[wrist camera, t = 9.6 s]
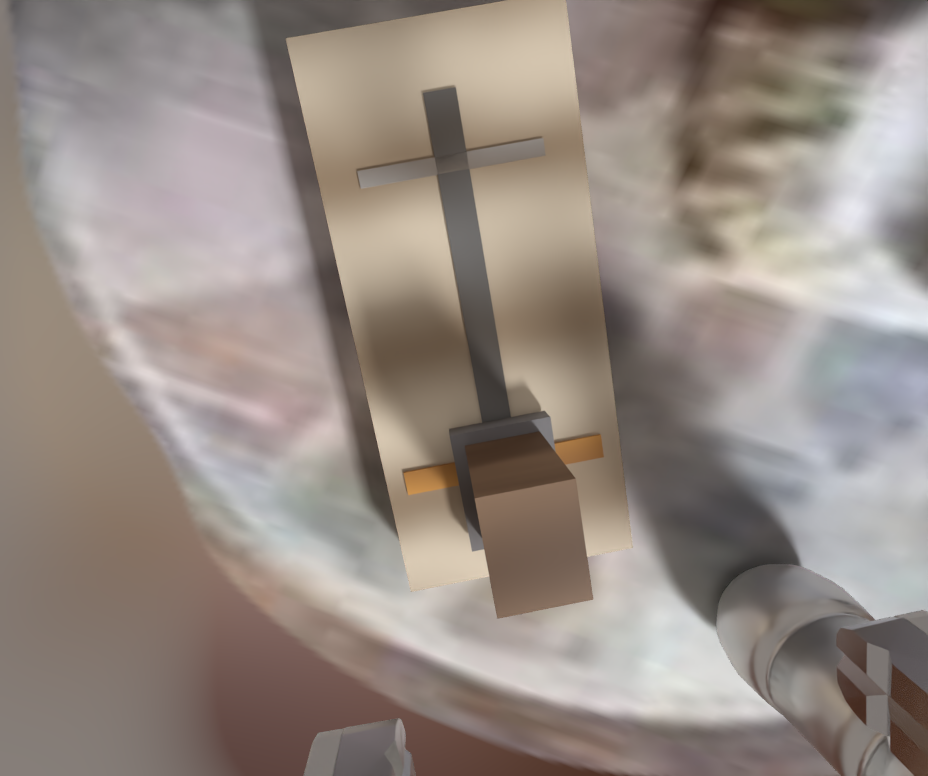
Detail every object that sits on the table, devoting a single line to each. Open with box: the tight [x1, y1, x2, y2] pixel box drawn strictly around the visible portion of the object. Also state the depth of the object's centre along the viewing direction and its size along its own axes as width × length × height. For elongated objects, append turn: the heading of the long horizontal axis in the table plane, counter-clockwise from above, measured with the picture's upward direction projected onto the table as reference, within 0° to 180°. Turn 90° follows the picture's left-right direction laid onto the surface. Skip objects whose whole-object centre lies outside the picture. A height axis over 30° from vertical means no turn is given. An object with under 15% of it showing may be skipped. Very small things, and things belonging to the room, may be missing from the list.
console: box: [286, 0, 633, 592], centre depth 21 cm, size 22×10×3 cm, turn 10°
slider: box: [449, 411, 593, 619], centre depth 17 cm, size 5×4×6 cm
